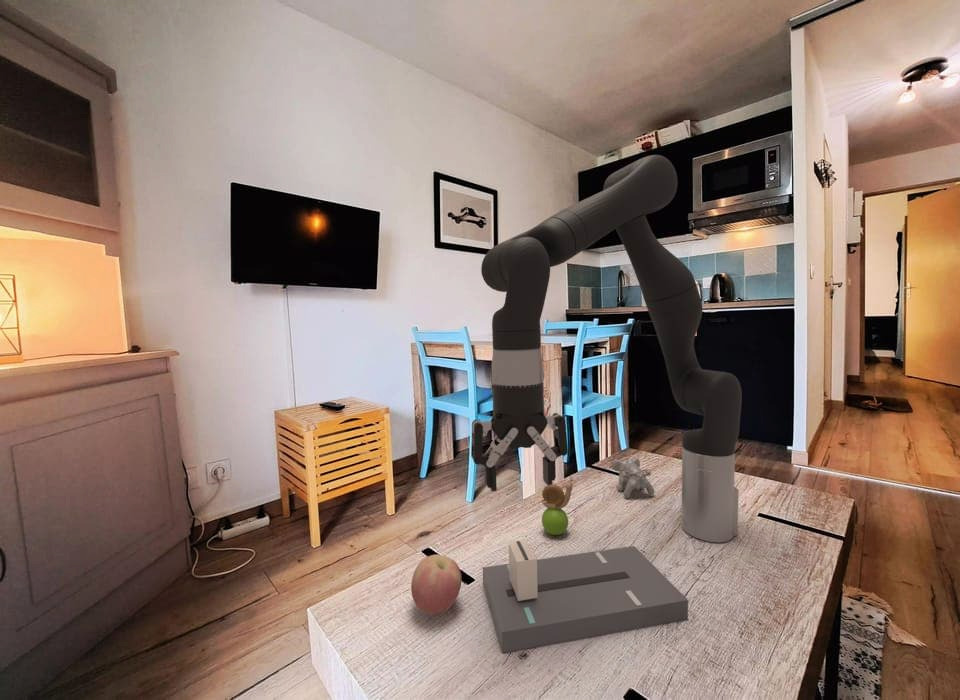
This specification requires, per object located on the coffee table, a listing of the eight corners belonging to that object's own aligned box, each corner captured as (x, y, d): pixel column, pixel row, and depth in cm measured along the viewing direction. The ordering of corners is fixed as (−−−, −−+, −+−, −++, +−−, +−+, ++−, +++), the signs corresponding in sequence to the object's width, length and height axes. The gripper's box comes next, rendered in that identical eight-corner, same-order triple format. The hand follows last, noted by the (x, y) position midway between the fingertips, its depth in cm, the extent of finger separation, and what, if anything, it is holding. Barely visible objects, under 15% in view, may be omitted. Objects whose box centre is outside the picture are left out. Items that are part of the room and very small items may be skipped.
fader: (527, 576, 63) (526, 539, 62) (537, 597, 58) (536, 558, 57) (509, 578, 62) (508, 541, 62) (518, 600, 57) (517, 560, 57)
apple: (441, 636, 55) (439, 583, 55) (401, 616, 59) (399, 566, 59) (471, 601, 62) (470, 553, 61) (434, 585, 66) (432, 540, 66)
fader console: (634, 561, 71) (634, 545, 71) (687, 619, 57) (688, 599, 57) (483, 584, 66) (482, 566, 66) (502, 653, 52) (501, 631, 52)
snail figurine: (573, 542, 78) (573, 483, 77) (541, 539, 79) (540, 482, 78) (572, 527, 83) (572, 473, 82) (542, 525, 84) (541, 471, 83)
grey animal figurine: (633, 504, 93) (633, 472, 92) (598, 485, 104) (598, 457, 103) (661, 495, 96) (661, 465, 96) (624, 478, 107) (624, 451, 107)
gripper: (554, 373, 62) (556, 471, 63) (466, 378, 60) (469, 481, 61) (573, 380, 55) (575, 491, 56) (473, 386, 52) (478, 503, 54)
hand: (520, 486), depth 59 cm, fingers open, 8 cm apart
